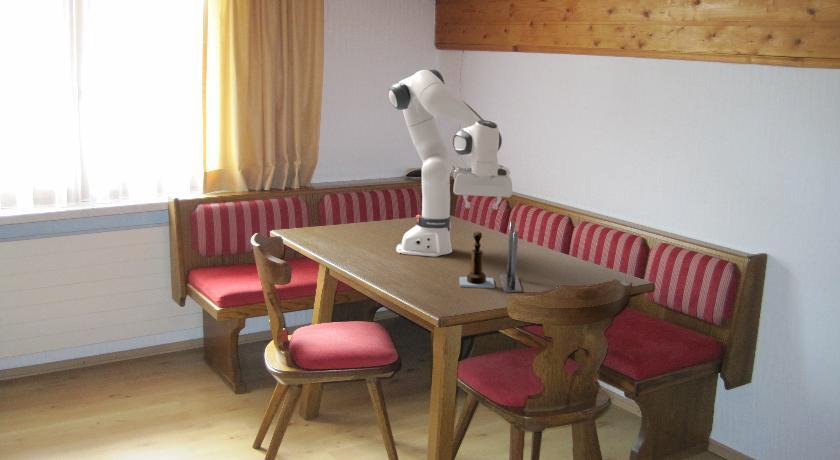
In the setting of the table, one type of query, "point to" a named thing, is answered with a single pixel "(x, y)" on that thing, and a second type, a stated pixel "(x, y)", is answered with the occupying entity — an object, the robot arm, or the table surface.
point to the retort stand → (511, 264)
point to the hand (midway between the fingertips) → (481, 208)
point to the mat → (487, 284)
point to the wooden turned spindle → (476, 262)
